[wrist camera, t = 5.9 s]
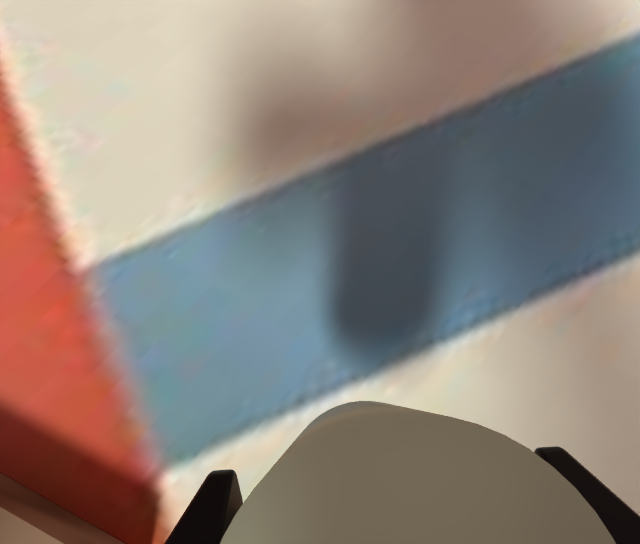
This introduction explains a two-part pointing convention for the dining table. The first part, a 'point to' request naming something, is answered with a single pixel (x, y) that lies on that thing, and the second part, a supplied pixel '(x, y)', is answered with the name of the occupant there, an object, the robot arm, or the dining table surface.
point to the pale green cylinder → (411, 486)
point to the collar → (41, 520)
